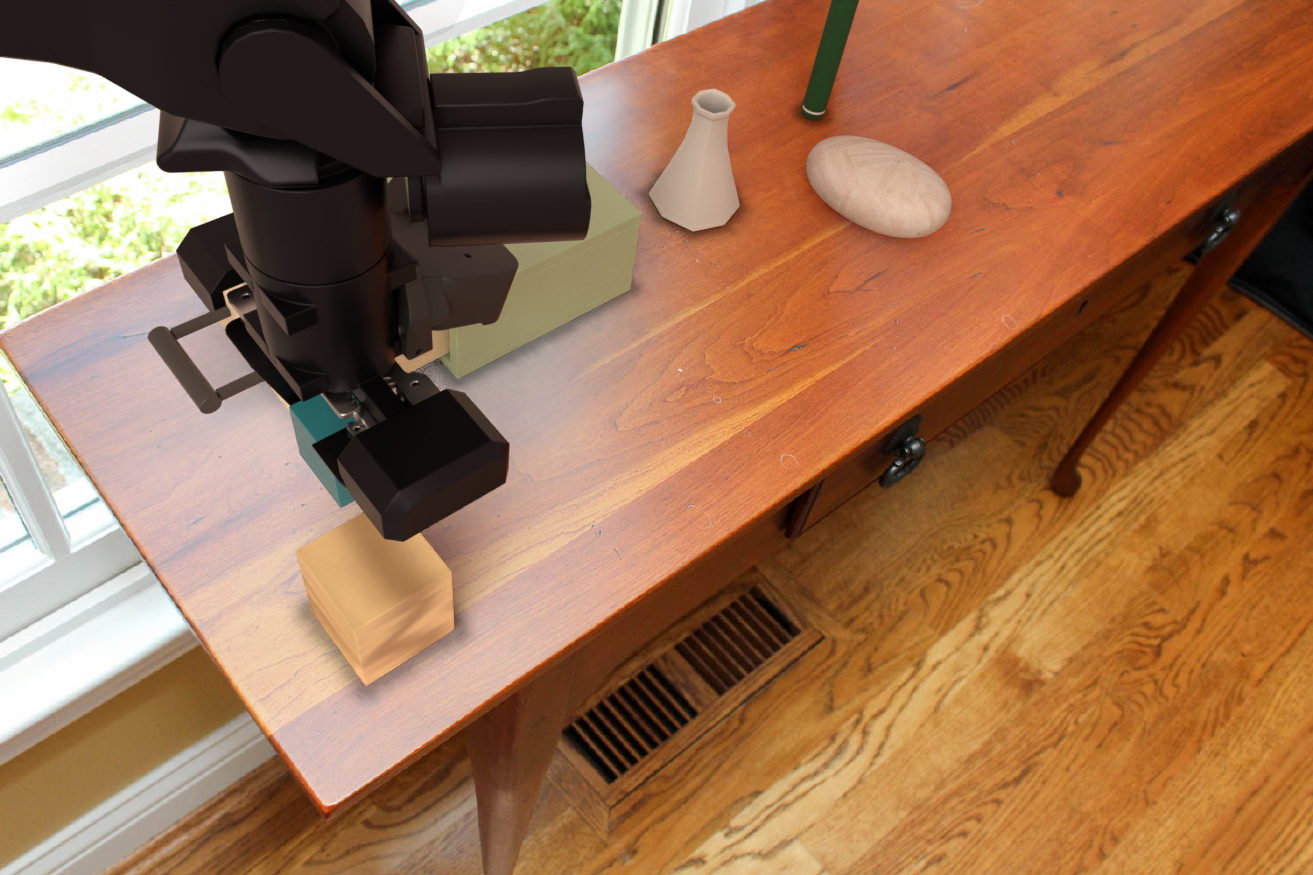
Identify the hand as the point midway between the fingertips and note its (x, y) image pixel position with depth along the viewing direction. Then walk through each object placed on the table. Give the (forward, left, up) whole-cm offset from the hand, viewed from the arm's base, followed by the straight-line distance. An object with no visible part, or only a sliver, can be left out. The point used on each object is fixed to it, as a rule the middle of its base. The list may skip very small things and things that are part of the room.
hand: (355, 462), depth 54 cm
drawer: (-2, +19, -12) cm, 22 cm away
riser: (0, -2, -13) cm, 13 cm away
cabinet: (+10, +25, -13) cm, 30 cm away
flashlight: (+42, +43, -13) cm, 61 cm away
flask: (+28, +32, -13) cm, 44 cm away
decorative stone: (+43, +30, -13) cm, 54 cm away
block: (0, 0, 0) cm, 0 cm away
